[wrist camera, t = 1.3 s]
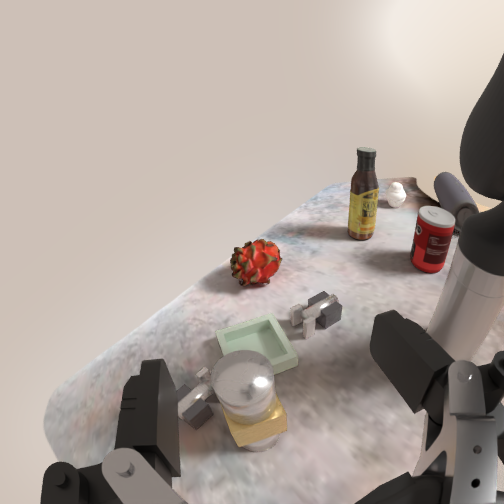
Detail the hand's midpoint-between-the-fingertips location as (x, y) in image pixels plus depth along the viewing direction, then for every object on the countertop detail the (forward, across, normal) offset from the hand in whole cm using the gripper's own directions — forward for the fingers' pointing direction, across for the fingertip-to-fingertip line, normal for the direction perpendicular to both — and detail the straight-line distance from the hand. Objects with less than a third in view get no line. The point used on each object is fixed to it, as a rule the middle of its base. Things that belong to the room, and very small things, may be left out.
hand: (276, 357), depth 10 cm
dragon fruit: (+41, -7, +18) cm, 45 cm away
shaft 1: (+17, +6, +23) cm, 29 cm away
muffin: (+57, -50, +13) cm, 77 cm away
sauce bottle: (+47, -32, +16) cm, 59 cm away
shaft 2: (+27, -13, +20) cm, 36 cm away
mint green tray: (+23, -2, +22) cm, 32 cm away
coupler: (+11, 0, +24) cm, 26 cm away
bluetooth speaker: (+46, -64, +14) cm, 80 cm away
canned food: (+32, -40, +18) cm, 55 cm away
